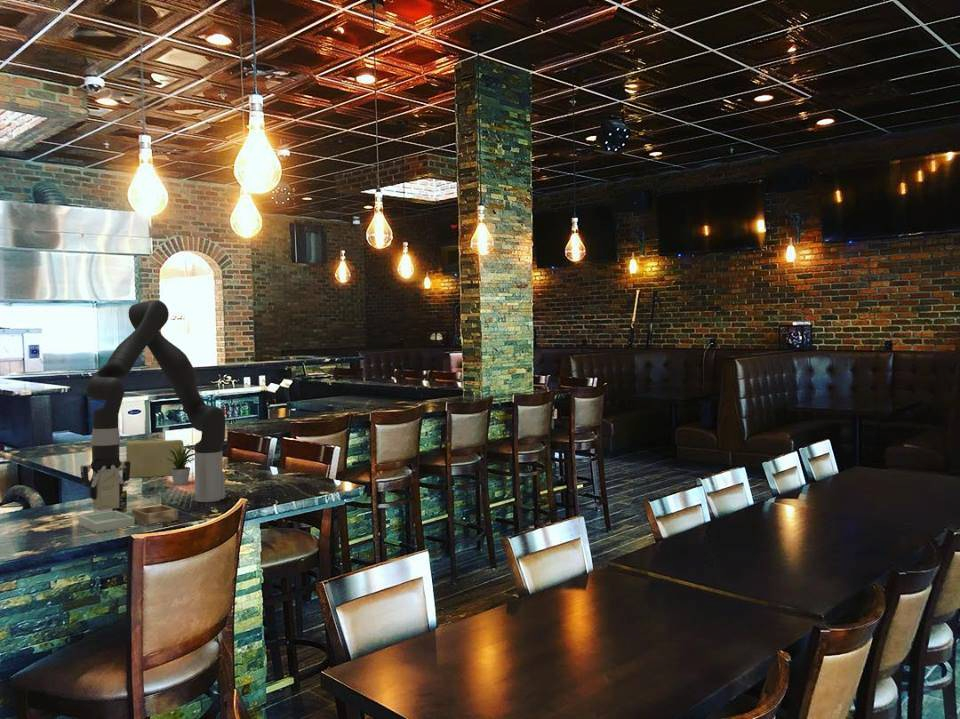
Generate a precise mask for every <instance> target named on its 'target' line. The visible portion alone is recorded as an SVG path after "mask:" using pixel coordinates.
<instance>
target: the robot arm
mask: <svg viewBox="0 0 960 719" xmlns="http://www.w3.org/2000/svg"><path fill="white" fill-rule="evenodd" d="M169 316H170V312H169V309H168V307H167V304H165V303H164V302H163V301H161V300H159V299H152V300H147V301H142V302H138V303H133V305H131V306H130V307H129V310H128V318H129V322H130V324H131V325H132V327H133V329H134V330H133V331H132V333H130V334H129V335H128V336H127V337H126V338H125V339H124V340H122V342H120V343H119V344H118V346H117V347H116V348H115V349H114V350H113V352H112V353H111V355H110V357H109V359H108V360H107V361H106V363H105V364H104V365H103V366H102V367H100V369H98V370H97V371H96V372H95V373H94V374H93V375H92V376H91V377H90V378H89V380H88V381H87V384H86V388H85V390H86V394H87V396H88V398H90V399H91V400H93V401H105V402H104V404H103V407H99V408H96V409H94V410H93V412H92V432H91V463H90V464H87V465H82V464H81V466H80V479H81V485H82V486H85V487H88V497H89V498H90V499H91V500H92V501H93V500H95V499H96V487H95V485H96V484H97V482H98V480H99V472H98V470H105V469H112V471H113V470H115V471H116V472H115V474H116V477H117V478H118V477H119V496H121V494H122V493H123V489H124V483H125V482H129V480H130V478H129V477H130V462H129V461H126V460H123V461H121V460H120V441H121V439H120V438H121V437H120V431H119V429H120V428H119V413H120V409H121V406H122V403H123V398H124V396H125V386H124V385H125V384H124V382H123V381H122V380H123V379H124V378H126V377H127V376H128V375H129V373H130V372H131V370H132V369H133V367H134V366H135V364H136V363H137V361H138V359H139V358H140V355H141V354H142V353H143V351H144V350H145V349H146V347H147V348H148V349H149V351H150V353H151V354H152V356H153V357H154V359H155V360H156V362H157V364H158V366H159V368H160V369H161V371H162V373H163V374H164V376H165V378H166V379H167V382H168V383H169V384H170V386H171V388H172V390H173V391H174V393H175V395H176V396H177V399H179V402H180V403H181V405H182V408H183V409H184V412H185V414H186V416H187V418H188V421H189V423H190V424H191V426H192V427H193V428H194V429H195V430H196V431H198V432H201V437H200V440H199V441H198V442H196V443H195V444H194V450H195V451H194V453H195V455H194V502H197V503H198V502H199V503H214V502H218V501H221V499H222V500H225V499H226V473H225V471H223V447H224V443H225V439H226V415H225V412H224V411H223V409H222V408H220V407H218V406H215V405H214V406H213V405H208V404H207V403H206V402H205V401H204V399H203V398H202V396H201V394H200V392H199V389H198V383H197V375H196V371H195V368H194V366H193V365H192V363H191V361H190V359H189V358H188V356H187V355H186V353H184V352H183V351H182V350H181V349H180V348H179V347H178V346H176V345H174V344H173V343H172V342H170V341H169V340H168V339H167V338H166V337H164V335H163V334H162V333H161V330H162V328H163V327H164V326H165V325H166V323H167V322H168V319H169ZM120 465H121V467H122V468H123V475H122V478H121V476H120V474H119V472H118V471H117V469H116V468H119V467H120ZM91 470H92V472H93V471H94V472H96V473H98V474H97V475H96V476H94V475H93V474H92V475H91V476H90V480H89V473H90V471H91ZM224 498H225V499H224Z"/></svg>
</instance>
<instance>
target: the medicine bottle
mask: <svg viewBox="0 0 960 719" xmlns="http://www.w3.org/2000/svg"><path fill="white" fill-rule="evenodd" d="M127 491H128V490H127V489H124V488H123V493H122V494H121V496H119V507H118V508H113V509H107V510H96V509H93V514H96V513H103V512H109V511H119V512H121V513H123V512H122V511H124V512H126V511H125V510H127V511H128V509H127V508H128V507H127V506H128V503H127V502H128V499H127V498H128V497H127V496H128V495H127Z"/></svg>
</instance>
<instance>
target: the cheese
mask: <svg viewBox="0 0 960 719" xmlns="http://www.w3.org/2000/svg"><path fill="white" fill-rule="evenodd" d="M179 444H180V448H181V453H182V452H183V450H184V448H185V446H184V445H185V444H184V441H183V440H182V439H170V440H143V439H142V440H141V439H138V440H137V439H134V440H131V441H127V443H126V447H125V448H126V451H125V452H126V460H125V461H129V462H130V477H129V479H135V478H137V479H138V478H139V479H140V478H158V476H172V472H171V468H175V467H176V466H175V465H174V464H173V462H171V463H172V464H170V460H168V459H166V458H170V459H172V460H173V461H176V460H174V459H175V458H173V457H174V456H173V454H172V453H171V451H170V450H172V451H174V452H175V454H176V456H177V452H176V450H177V448H178V446H179ZM172 447H174V448H175V449H176V450H175V449H174V448H172ZM168 449H170V450H168ZM166 450H167V451H166ZM172 456H173V457H172ZM184 467H186V465H185V466H184Z"/></svg>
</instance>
